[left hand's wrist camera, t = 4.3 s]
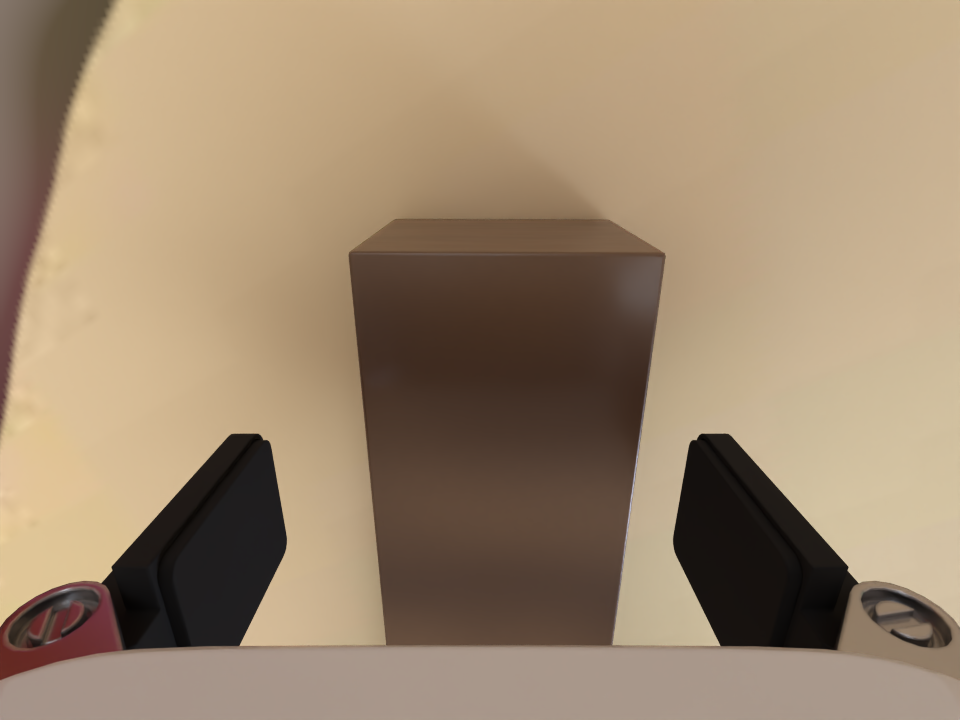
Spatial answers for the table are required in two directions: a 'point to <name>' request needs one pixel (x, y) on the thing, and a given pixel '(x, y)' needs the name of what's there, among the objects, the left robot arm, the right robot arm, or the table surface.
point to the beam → (503, 422)
